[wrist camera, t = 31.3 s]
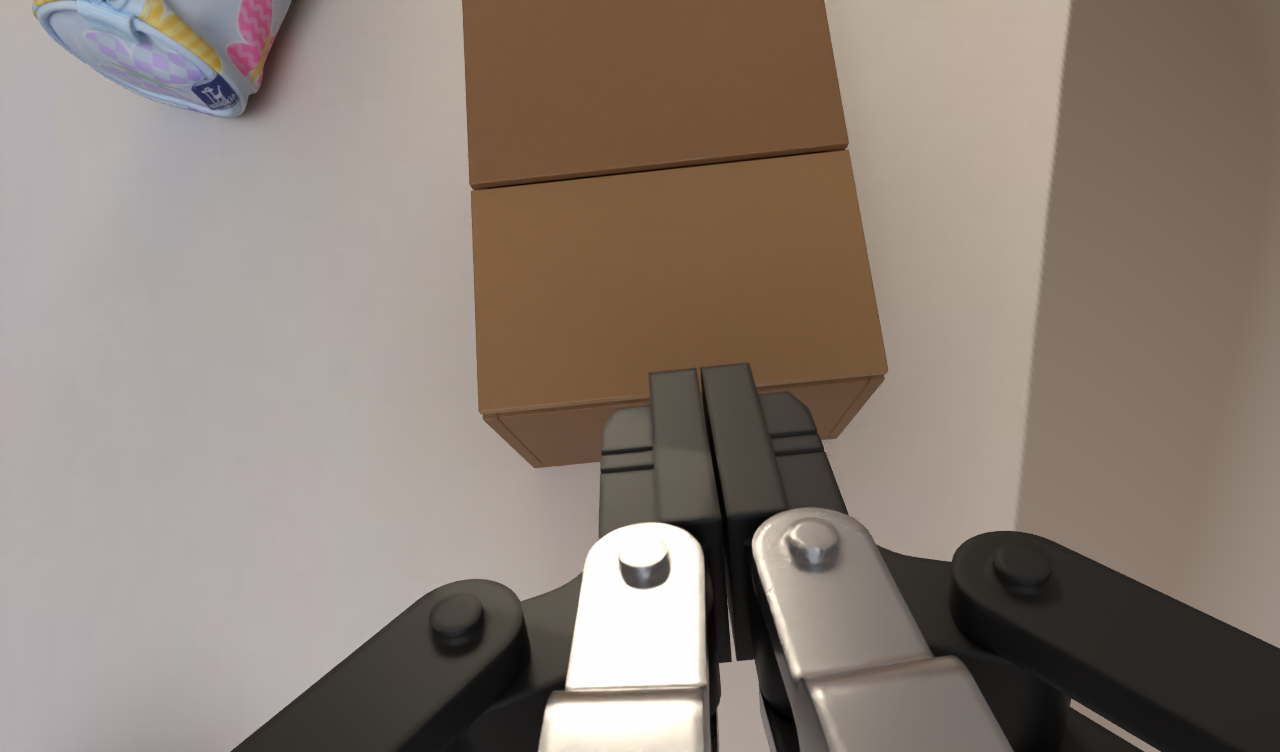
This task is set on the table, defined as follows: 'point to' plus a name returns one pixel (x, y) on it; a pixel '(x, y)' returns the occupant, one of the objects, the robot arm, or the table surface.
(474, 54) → the carton
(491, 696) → the robot arm
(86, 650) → the table surface
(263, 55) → the pencil case
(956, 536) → the table surface
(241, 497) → the table surface
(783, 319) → the flap
